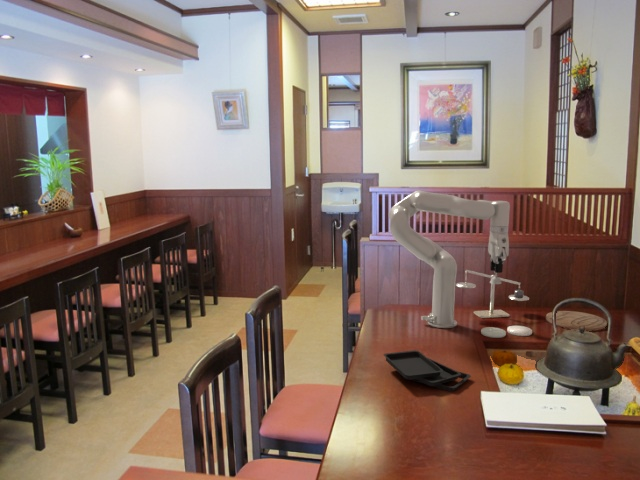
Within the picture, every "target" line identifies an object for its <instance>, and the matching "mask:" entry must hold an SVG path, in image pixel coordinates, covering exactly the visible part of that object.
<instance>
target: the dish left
mask: <svg viewBox="0 0 640 480" xmlns="http://www.w3.org/2000/svg"><path fill="white" fill-rule="evenodd" d="M480 334H481V335H483V336H485V337H488V338H495V339H496V338H497V339H499V338H501V339H502V338H505V337H506V335H507V330H505V329H503V328H499V327H493V326H491V327H490V326H488V327H487V326H486V327H481V330H480Z"/></svg>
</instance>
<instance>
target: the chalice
mask: <svg viewBox="0 0 640 480" xmlns="http://www.w3.org/2000/svg"><path fill="white" fill-rule="evenodd" d="M490 243H491V242H490ZM495 244H496V243H491V257H492V259H493V262H494V263H496V259H497V256H495ZM500 256H502V255H501V254H500ZM491 257H490V258H491ZM499 259H500V258H499ZM494 275H495V276H494V277H492V279H491V278H490V281H489V284H491V283H492V284H495V285H501V284H502V281H501V280H500V278H501V277H498V273H495V272H494Z"/></svg>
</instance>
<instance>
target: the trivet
mask: <svg viewBox="0 0 640 480" xmlns="http://www.w3.org/2000/svg"><path fill="white" fill-rule="evenodd" d="M556 311H557V313H556V325H557V326H559V327H558V328H560V327H565V328H571V329H577V328H578V327H579V326H585V328H586V329H587V330H597V329H603V328H605V327H606V326H607V327H608V321H607V320H606V319H605V318H603V317H601V316H598V315H596V314H591V313H587V312H581V311H574V310H556ZM552 312H553V311H551V312H548V313H547V314H546V315H545V321H546V322H547V323H548V324H550V325H552ZM557 326H556V327H557ZM607 327H606V328H607ZM606 328H605V329H606ZM603 330H604V329H603Z"/></svg>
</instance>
